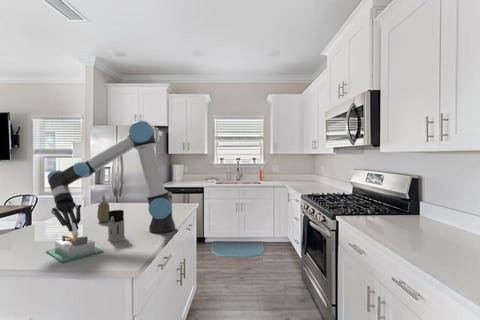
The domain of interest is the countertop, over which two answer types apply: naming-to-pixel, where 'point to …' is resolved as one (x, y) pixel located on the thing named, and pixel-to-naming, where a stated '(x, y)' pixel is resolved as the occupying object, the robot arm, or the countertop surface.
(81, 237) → the tan rectangular bar
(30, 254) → the countertop surface
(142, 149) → the robot arm
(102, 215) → the squeeze bottle
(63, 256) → the green base fixture
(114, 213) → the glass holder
